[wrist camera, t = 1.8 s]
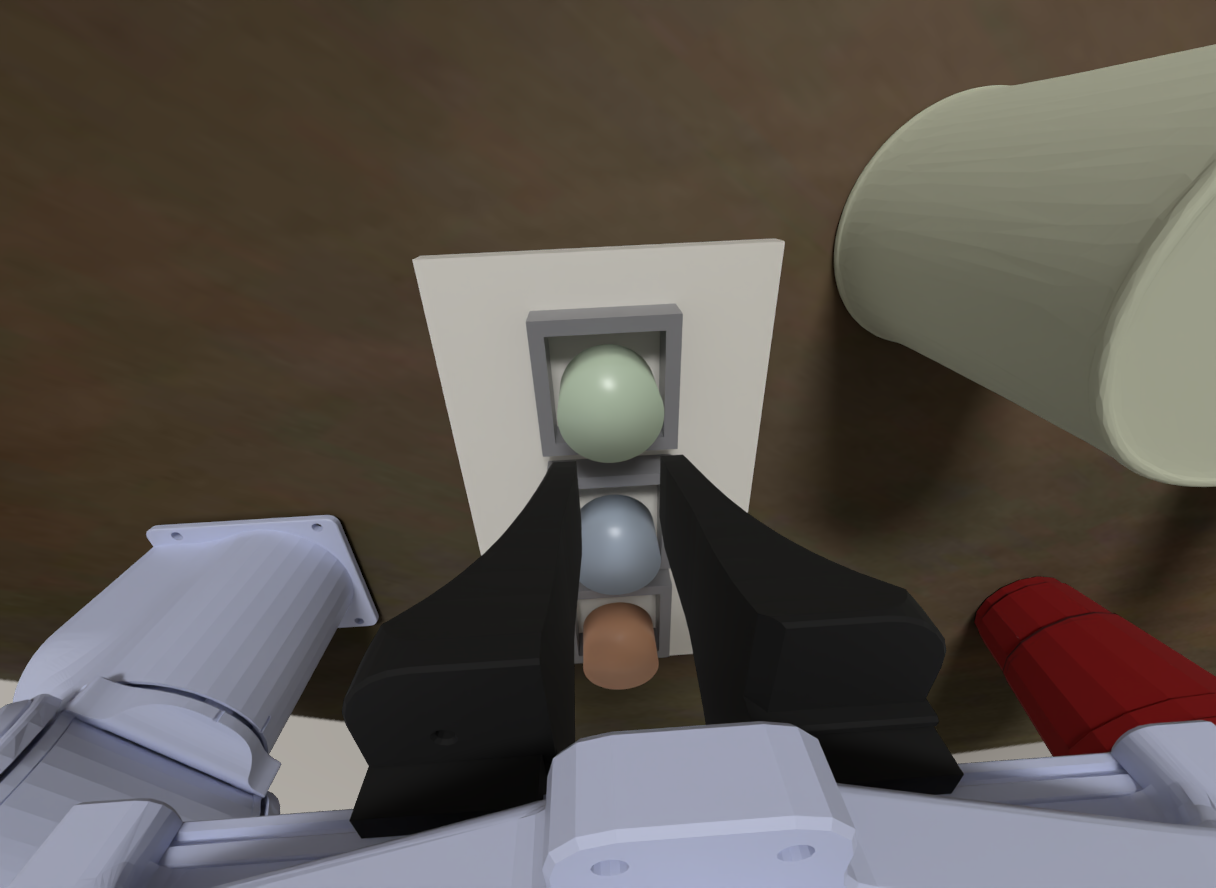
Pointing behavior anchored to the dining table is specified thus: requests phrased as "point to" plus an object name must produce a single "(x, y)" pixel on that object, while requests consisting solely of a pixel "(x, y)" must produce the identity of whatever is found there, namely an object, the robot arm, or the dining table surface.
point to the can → (1058, 253)
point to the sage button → (609, 404)
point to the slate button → (618, 545)
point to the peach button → (619, 646)
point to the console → (589, 316)
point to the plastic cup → (1087, 667)
